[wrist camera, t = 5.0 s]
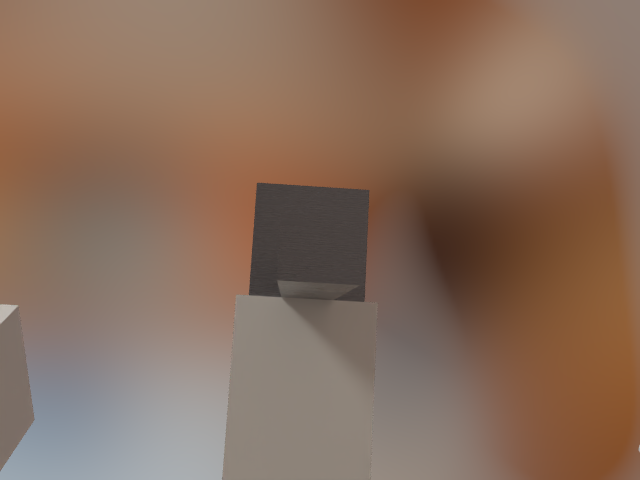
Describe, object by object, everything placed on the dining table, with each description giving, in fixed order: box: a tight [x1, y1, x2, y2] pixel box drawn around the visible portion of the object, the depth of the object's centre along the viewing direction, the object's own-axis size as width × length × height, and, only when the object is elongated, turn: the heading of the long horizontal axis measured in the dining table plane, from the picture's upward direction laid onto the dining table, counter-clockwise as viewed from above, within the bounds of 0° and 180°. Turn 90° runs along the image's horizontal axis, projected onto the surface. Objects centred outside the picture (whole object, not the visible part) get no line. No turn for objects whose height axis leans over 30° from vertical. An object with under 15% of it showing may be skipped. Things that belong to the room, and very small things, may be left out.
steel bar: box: [249, 183, 369, 302], centre depth 24 cm, size 5×16×5 cm, turn 3°
